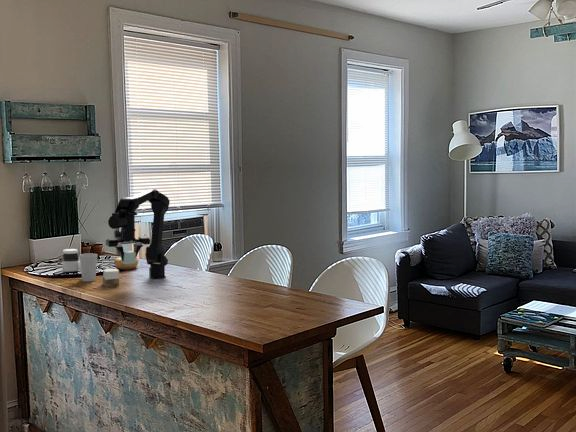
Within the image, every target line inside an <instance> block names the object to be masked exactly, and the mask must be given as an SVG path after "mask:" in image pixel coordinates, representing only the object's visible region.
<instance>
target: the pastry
mask: <svg viewBox="0 0 576 432" xmlns="http://www.w3.org/2000/svg"><path fill="white" fill-rule="evenodd" d="M113 261H114V263H113V264H114V266H115V269H118V270H125V271H128V270H135V269H136V268H137V267H138V265H139V259H138V258H137V257H136V263H135V264H123V263H122V261H121V257H120V256H119V257H118V256H117V257H115V259H114V260H113Z"/></svg>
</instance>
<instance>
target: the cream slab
mask: <svg viewBox="0 0 576 432" xmlns="http://www.w3.org/2000/svg"><path fill="white" fill-rule="evenodd" d="M102 271H103V273H102V274H103V275H102V276H103V277H104V278H105V279H106V280H107V279H119V280H120V269H117V268H107V269H106V268H105V269H102ZM103 277H102V278H103Z"/></svg>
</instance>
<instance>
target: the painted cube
mask: <svg viewBox="0 0 576 432" xmlns="http://www.w3.org/2000/svg"><path fill="white" fill-rule="evenodd" d="M123 255H124V260H123V261H122V260H121V261H122V263H123V264H135V263H136V258H137V257H136V252H134V250H125V251H124V250H123Z"/></svg>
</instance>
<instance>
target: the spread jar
mask: <svg viewBox="0 0 576 432" xmlns="http://www.w3.org/2000/svg"><path fill="white" fill-rule="evenodd" d="M78 253H79V251H78V248H65V249H63V250H62V257H61V261H62V262H61V263H62V265H61V266H62V269H61V270H62V274H63V273H66V274H65V275H67V274H69V273H77V274H79V273H78V272H80V273H81V263H80V256H79V254H78Z"/></svg>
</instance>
